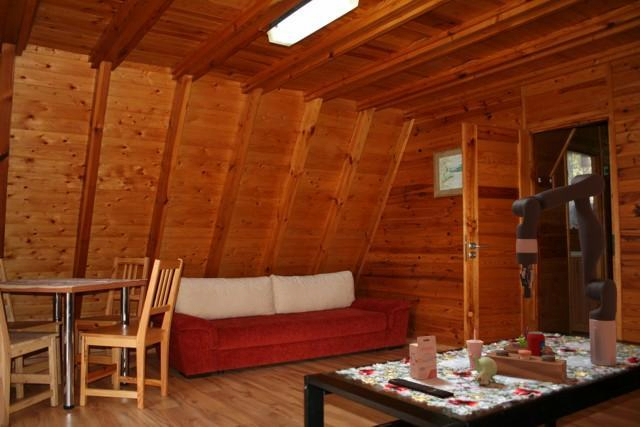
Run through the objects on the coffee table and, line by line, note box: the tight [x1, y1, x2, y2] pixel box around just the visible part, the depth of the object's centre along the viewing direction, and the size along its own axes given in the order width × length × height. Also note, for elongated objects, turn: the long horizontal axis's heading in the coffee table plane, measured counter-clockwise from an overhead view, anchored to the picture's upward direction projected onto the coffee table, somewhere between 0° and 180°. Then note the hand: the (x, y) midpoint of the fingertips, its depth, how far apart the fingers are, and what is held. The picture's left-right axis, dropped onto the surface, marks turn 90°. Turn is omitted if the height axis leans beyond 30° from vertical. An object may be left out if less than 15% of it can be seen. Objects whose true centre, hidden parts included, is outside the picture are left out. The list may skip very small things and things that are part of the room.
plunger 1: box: [495, 349, 509, 357], centre depth 198 cm, size 4×4×7 cm
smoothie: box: [465, 329, 484, 368], centre depth 206 cm, size 6×6×14 cm
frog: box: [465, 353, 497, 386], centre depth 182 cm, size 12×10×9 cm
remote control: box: [387, 377, 455, 399], centre depth 174 cm, size 5×24×1 cm, turn 38°
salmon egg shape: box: [518, 350, 531, 359], centre depth 193 cm, size 4×4×7 cm
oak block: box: [484, 350, 568, 384], centre depth 193 cm, size 10×26×6 cm, turn 56°
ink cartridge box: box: [409, 335, 438, 381], centre depth 190 cm, size 9×5×15 cm, turn 117°
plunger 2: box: [542, 355, 556, 362], centre depth 189 cm, size 4×4×7 cm
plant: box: [503, 326, 554, 356], centre depth 233 cm, size 20×20×11 cm
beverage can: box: [527, 330, 546, 357], centre depth 212 cm, size 7×7×12 cm
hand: (527, 298), depth 199 cm, fingers closed
